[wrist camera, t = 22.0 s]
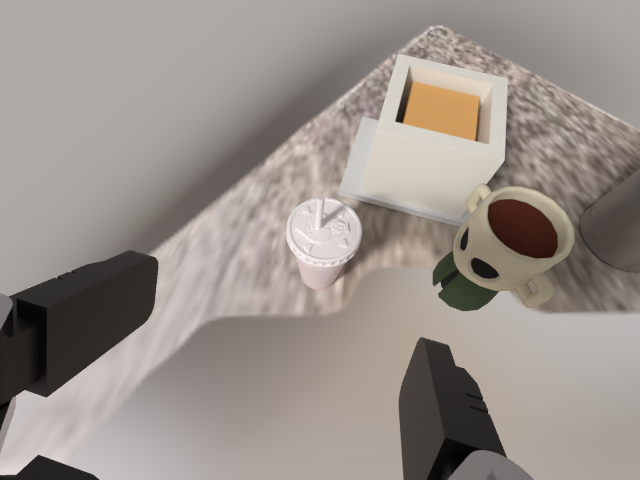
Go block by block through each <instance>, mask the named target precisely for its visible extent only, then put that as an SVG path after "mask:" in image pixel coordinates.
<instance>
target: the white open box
mask: <svg viewBox="0 0 640 480" xmlns="http://www.w3.org/2000/svg"><path fill="white" fill-rule="evenodd" d="M413 81H414V82H419V83H423V84H427V85H432V86H436V87H440V88H444V89H449V90H453V91H457V92H462V93H466V94H470V95H475V96H479V105H478V116H477V126H476V137H475V141H472V140H468V139H464V138H460V137H456V136H452V135H448V134H444V133H440V132H435V131H431V130H427V129H423V128H419V127H415V126H411V125H407V124H403V123H400V121H401V118H402V115H403V112H404V108H405V105H406V102H407V99H408V96H409V93H410V90H411V87H412V84H413ZM507 84H508V79H507V78H503V77H498V76H494V75H489V74H485V73H481V72H476V71H472V70H467V69H463V68H459V67H454V66H450V65H445V64H441V63H436V62H432V61H428V60H423V59H419V58H414V57H410V56H406V55H401V54H398V56H397V60H396V63H395V67H394V70H393V74H392V77H391V81H390V84H389V88H388V91H387V95H386V98H385V101H384V105H383V108H382V112H381V115H380V119H379V121H378V120H374V119H370V118H366V117H362V120H361V123H360V126H359V129H358V132H357V136H356V139H355V142H354V145H353V148H352V151H351V154H350V157H349V160H348V163H347V166H346V169H345V173H344V176H343V179H342V182H341V185H340V188H339V192H338V195H340V196H344V197H348V198H351V199H355V200H359V201H363V202H366V203H370V204H374V205H378V206H382V207H385V208H389V209H393V210H397V211H400V212H404V213H408V214H412V215H415V216H419V217H423V218H427V219H431V220H434V221H438V222H442V223H446V224H449V225H453V226H457V227H461V226H462V225H463V224H464V222H465V221H466V220H467V219H468V217H469V216H470V215H471V214H470V213H469V211H468V209H467V207H466V201H467V199H468V198H469V196H470V195H471V193H472V192H473V191H474V189H475V188H476V187H477V186H478V185H480V184H481V183H483V184H487V183H488V182H489V180H490V179H491V178H492V176H493V175H494V174H495V172H496V171H497V170H498V168H499V167H500V166H501V165H502V163H503V162H504V161H505V140H506V112H507ZM482 202H483V200H482V199H481V200H480V201H479V202H478V205H480V204H481V203H482Z"/></svg>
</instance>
